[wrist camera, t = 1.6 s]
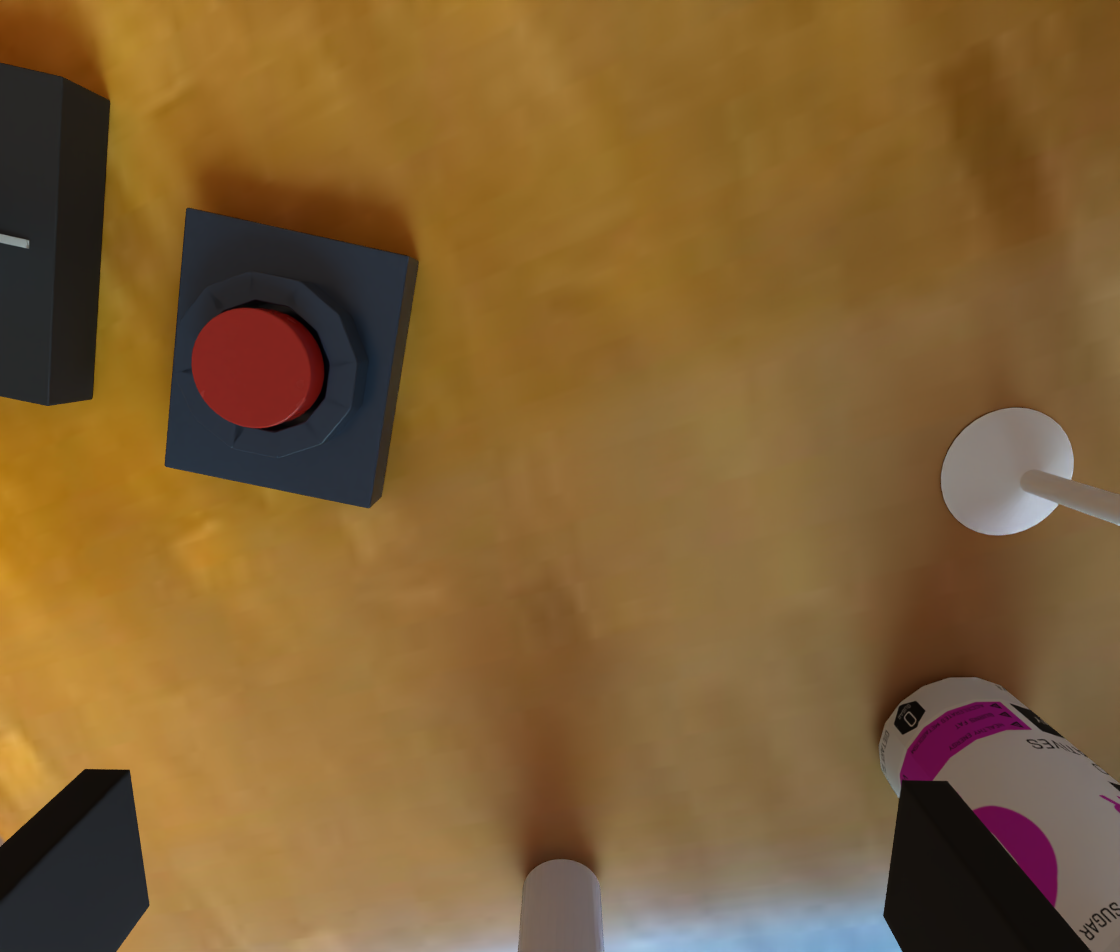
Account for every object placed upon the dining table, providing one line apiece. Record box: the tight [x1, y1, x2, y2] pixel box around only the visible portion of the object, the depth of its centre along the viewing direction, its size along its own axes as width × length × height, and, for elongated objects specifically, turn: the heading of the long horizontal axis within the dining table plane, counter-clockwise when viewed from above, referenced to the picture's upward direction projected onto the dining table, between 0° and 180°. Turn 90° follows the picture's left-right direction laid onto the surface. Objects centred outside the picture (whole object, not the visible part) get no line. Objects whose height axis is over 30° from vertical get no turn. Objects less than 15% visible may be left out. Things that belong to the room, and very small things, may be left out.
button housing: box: [165, 208, 419, 508], centre depth 31 cm, size 12×10×4 cm
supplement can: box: [879, 677, 1120, 952], centre depth 30 cm, size 8×8×15 cm
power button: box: [191, 308, 324, 428], centre depth 29 cm, size 5×5×2 cm
